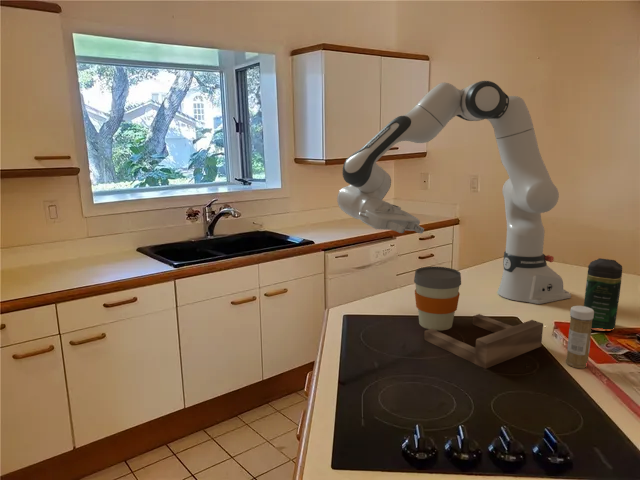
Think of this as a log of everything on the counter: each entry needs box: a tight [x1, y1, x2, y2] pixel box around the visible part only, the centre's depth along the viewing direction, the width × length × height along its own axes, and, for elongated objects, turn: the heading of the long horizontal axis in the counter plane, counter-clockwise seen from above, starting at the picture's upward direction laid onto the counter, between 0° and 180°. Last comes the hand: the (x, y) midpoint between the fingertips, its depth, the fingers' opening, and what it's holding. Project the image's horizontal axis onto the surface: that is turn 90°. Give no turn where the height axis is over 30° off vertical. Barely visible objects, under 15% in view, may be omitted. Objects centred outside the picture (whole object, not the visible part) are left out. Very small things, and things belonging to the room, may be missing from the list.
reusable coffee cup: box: [413, 266, 462, 331], centre depth 130 cm, size 12×12×15 cm
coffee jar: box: [583, 257, 623, 329], centre depth 127 cm, size 10×8×19 cm
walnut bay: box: [423, 313, 544, 370], centre depth 119 cm, size 19×21×6 cm
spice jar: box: [565, 305, 594, 369], centre depth 106 cm, size 5×5×14 cm
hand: (412, 230), depth 136 cm, fingers open, 8 cm apart
